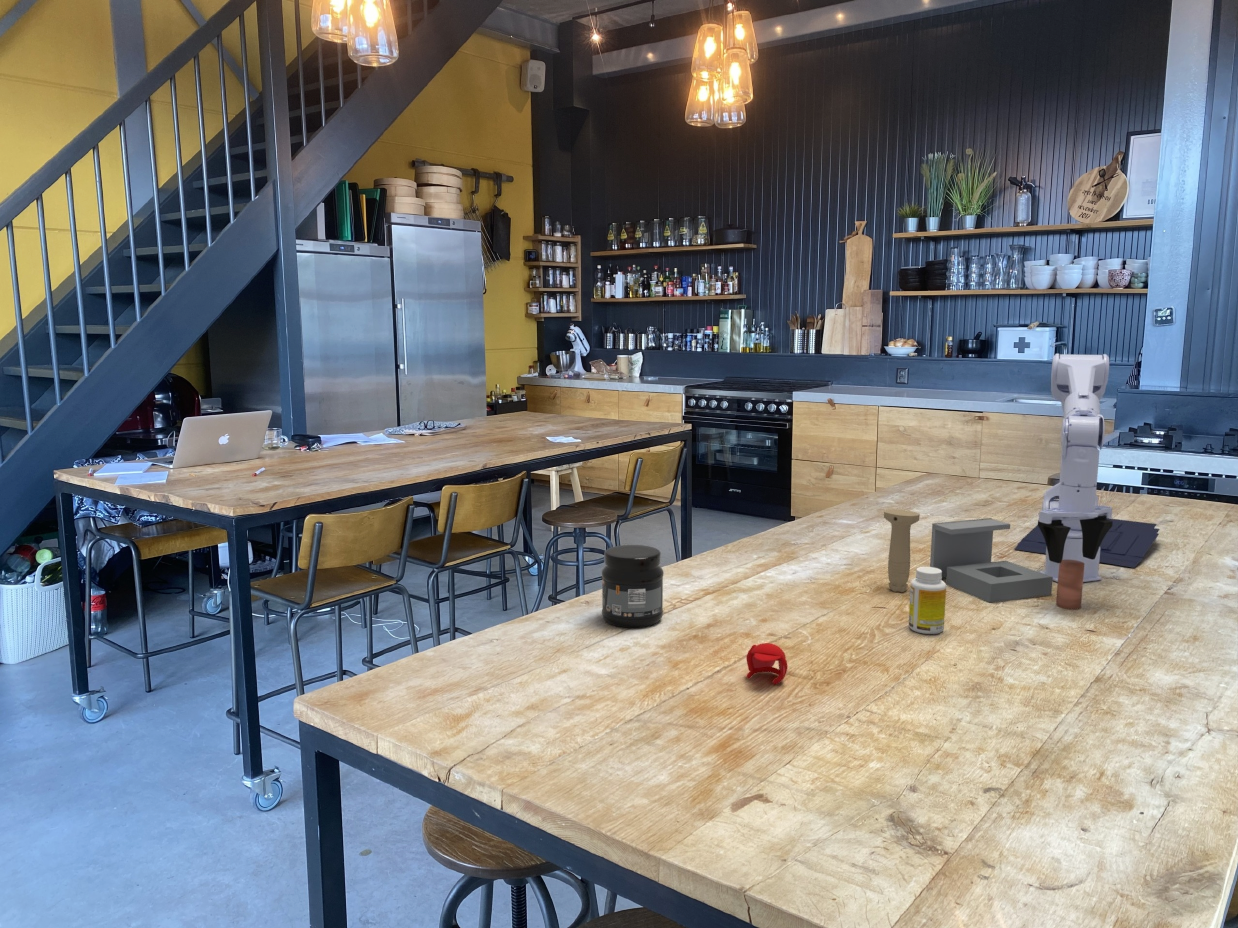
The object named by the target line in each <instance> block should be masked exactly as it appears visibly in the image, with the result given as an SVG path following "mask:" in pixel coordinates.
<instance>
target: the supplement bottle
mask: <svg viewBox="0 0 1238 928" xmlns="http://www.w3.org/2000/svg"><path fill="white" fill-rule="evenodd" d="M942 579H943V578H942V571H941V570H940V569H938V568H934V567H930V566H921V567H917V568H916V571H915V578H913V579H912V580H911V581H910V588H909V589H910V590H909V592H910V593H909V609H908V627H909V628H910V629H911V630H912V631H913V632H915V633H919V634H923V635H924V634H925V635H937V634H940V633H942V632H943V631H944V629H945V617H946V598H947V597H946V596H947V585H946V582H944V581H943V580H942Z"/></svg>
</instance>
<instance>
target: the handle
mask: <svg viewBox="0 0 1238 928" xmlns="http://www.w3.org/2000/svg"><path fill="white" fill-rule="evenodd" d="M883 518H884V520H886V521H887V522H889V523H890V524H891V530H890V533H891V534H890V543H889V552H888V561H887V572H888V573H887V574H888V575H887V576H888V581H889V582H888V588H889V590H890V591H892V592H895V593H896V592H898V593H904V592H906V591H907V590H908V584H909V583H908V582H909V577H910V573H911V572H910V571H911V526H912V525H913V524H916V523H918V522H919V521H920V513H919V512H916V511H912V510H905V509H898V508H897V509H895V508H891V509H885V510H883Z"/></svg>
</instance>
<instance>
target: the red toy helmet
mask: <svg viewBox="0 0 1238 928" xmlns="http://www.w3.org/2000/svg"><path fill="white" fill-rule="evenodd" d="M786 657H787V656H786V654H785V652H784V650H783V648H781V647H780V646H778V645H777V644H774V643H769V642H763V643H762V642H761V643H759V644H752V646H751V647H750V648H749V650H748V652H747V653H746V664H747V669H748V671H749V672H747V674H746V678H747V679H750V678H752V677H753V676H754V675H756V674H758V673H759V674H760V673H772V674H775V675H777V677H775V678H774V679H773V680H772V684H773V685H778V684H780V682H782V681H783V679H785V676H786V675H787V672H788V666H789V665H788V662H787V658H786ZM776 661H777V662H778V668H777V667H774V665H775V663H776Z"/></svg>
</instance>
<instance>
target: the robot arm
mask: <svg viewBox="0 0 1238 928" xmlns="http://www.w3.org/2000/svg"><path fill="white" fill-rule="evenodd" d="M1050 373H1051V375H1050V376H1051V377H1050V378H1051V379H1050V383H1051V384H1050V385H1051V386H1050V392H1051V398H1053V399H1055V400H1057V401H1059V402H1060V403H1061V408H1062V412H1063V419H1062V421H1061V430H1060V446H1061V451H1060V453H1061V454H1060V455H1061V456H1060V469H1059V482H1058V483H1057V484H1054V485H1053V486H1051V487H1049V488H1047V489H1046V490H1045V492H1044V493H1043V498H1042V499H1043V500H1042V505H1041V510H1039V512H1038V520H1037V525H1038V527H1039V528H1040V530H1041V532H1042V534H1043V536H1044V539H1045V542H1046V554H1045V561H1044V569H1043V570H1036V571H1037V572H1040V573H1043V574H1046V575H1049V576H1052V577H1053V581H1054V582H1056V583H1058V573H1059V563H1061V562H1062V560H1076V561H1081V562H1083V563H1084V564H1085V565H1084V577H1083V583H1085V582H1086V583H1087V582H1095V581H1101V580H1102V577H1101V576H1099V569H1100V562H1099V559H1100V545H1101V542H1102V540H1103V538H1104V537H1105V535H1106V534H1107V532H1108V531H1109V530H1110V528H1111V527H1112V525H1113V521H1111V520H1107V519H1106V518H1111V519H1113V507H1112V506H1108V505H1099V497H1098V495H1097V488H1098V487H1097V485H1098V484H1097V483H1098V473H1099V462H1100V451H1101V450H1102V449H1103V445H1104V442H1105V434H1106V433H1105V432H1106V430H1105V429H1106V425H1105V424H1106V423H1105V419H1104V416H1103V414H1101V407H1100V406H1101V404H1100V400H1102V399H1103V397H1104V394H1105V393H1106V387H1107V384H1108V382H1109V373H1110V357H1109V355H1107V354H1106V353H1103V354H1060V353H1055V354H1054V355H1053V357H1052V363H1051V372H1050ZM1098 447H1099V449H1098ZM1053 581H1052V582H1053Z"/></svg>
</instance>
